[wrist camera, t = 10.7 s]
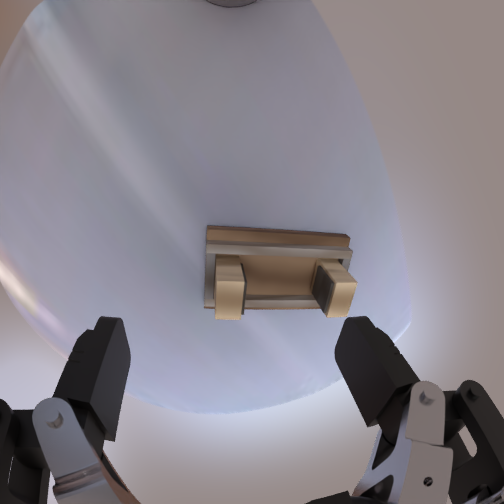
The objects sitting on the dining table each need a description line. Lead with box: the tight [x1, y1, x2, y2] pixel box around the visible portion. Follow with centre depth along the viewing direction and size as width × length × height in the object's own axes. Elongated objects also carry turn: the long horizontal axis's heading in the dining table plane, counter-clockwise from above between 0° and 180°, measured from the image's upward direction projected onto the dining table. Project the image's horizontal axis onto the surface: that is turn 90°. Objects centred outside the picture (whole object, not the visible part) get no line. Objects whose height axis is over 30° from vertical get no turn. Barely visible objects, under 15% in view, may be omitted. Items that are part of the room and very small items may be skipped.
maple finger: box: [310, 258, 358, 318], centre depth 36 cm, size 5×3×7 cm, turn 174°
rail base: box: [204, 226, 353, 320], centre depth 36 cm, size 12×20×8 cm, turn 84°
